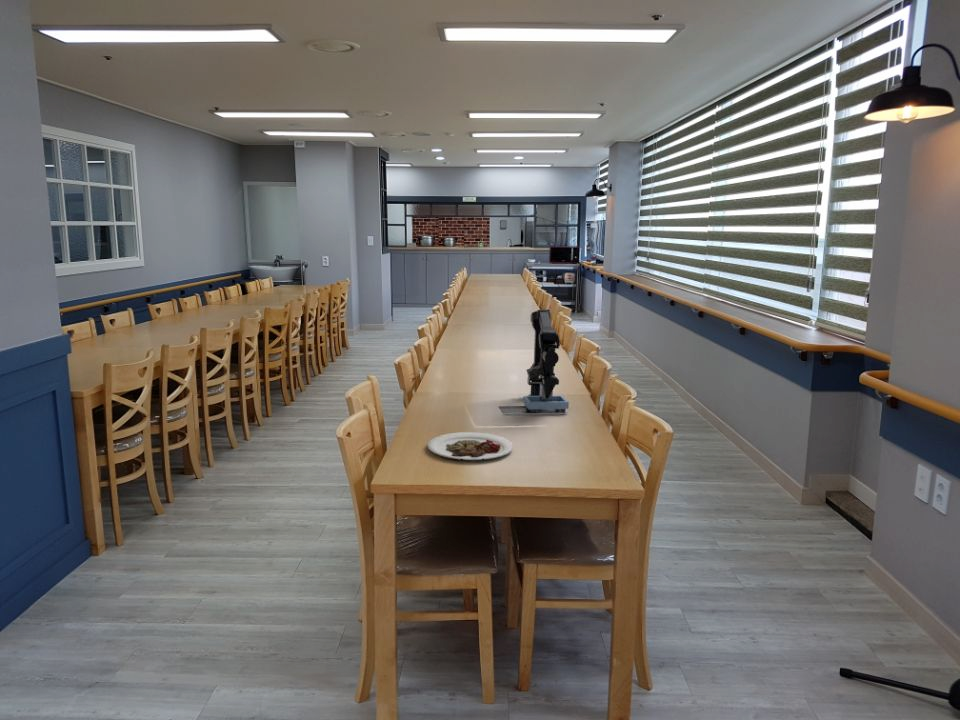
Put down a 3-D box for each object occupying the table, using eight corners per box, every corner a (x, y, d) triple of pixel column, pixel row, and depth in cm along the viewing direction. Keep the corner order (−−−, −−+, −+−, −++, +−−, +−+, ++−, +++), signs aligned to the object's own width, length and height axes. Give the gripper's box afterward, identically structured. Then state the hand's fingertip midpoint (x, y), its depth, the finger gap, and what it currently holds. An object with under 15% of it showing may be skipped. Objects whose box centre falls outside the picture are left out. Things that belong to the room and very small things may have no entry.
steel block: (539, 399, 294) (540, 383, 293) (549, 399, 295) (550, 383, 293) (541, 401, 290) (542, 385, 288) (552, 401, 290) (553, 385, 289)
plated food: (415, 441, 250) (416, 432, 249) (491, 433, 262) (491, 425, 261) (445, 468, 223) (445, 458, 222) (528, 458, 235) (528, 448, 234)
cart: (523, 406, 297) (523, 396, 296) (561, 406, 300) (562, 395, 299) (528, 413, 286) (528, 402, 286) (568, 413, 289) (568, 402, 288)
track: (498, 408, 297) (498, 405, 297) (559, 408, 301) (559, 404, 300) (503, 417, 284) (503, 413, 284) (567, 416, 288) (567, 412, 288)
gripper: (524, 356, 297) (522, 391, 300) (533, 365, 279) (531, 402, 282) (549, 356, 298) (547, 391, 301) (560, 364, 280) (558, 402, 283)
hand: (545, 396), depth 292 cm, fingers open, 5 cm apart
